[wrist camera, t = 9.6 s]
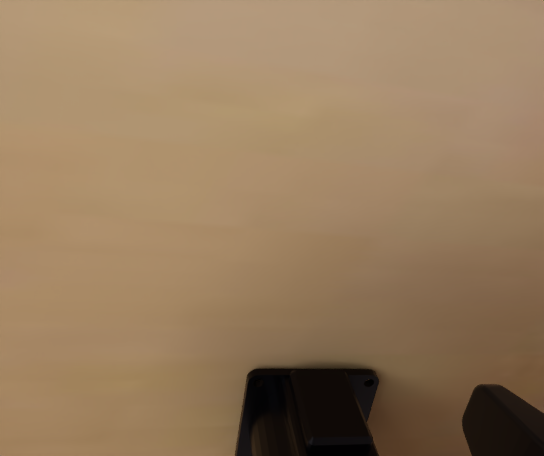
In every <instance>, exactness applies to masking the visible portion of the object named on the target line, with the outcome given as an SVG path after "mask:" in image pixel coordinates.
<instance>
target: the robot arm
mask: <svg viewBox="0 0 544 456" xmlns="http://www.w3.org/2000/svg"><path fill="white" fill-rule="evenodd" d="M256 379H261V380H260V381H255V380H256ZM368 379H370V380H368ZM366 380H368V381H366ZM378 384H379V379H378V377H377V375H376V373H375V372H374V371H373V370H369V369H255V370H252V371H251V372H250V373H249V374H248V375H247V379H246V385H245V392H244V399H243V405H242V412H241V418H240V425H239V432H238V438H237V445H236V451H235V456H379V454H378V452H377V449H376V447H375V444H374V442H373V437H372V435H371V432H370V430H369V427H368V425H367V420H368V417H369V413H370V410H371V407H372V403H373V400H374V397H375V393H376V390H377V387H378ZM462 426H463V431H464V434H465V437H466V440H467V443H468V446H469V448H470V451H471V454H472V456H544V413H542V412H541V411H539V410H538V409H536V408H535V407H533V406H532V405H530V404H529V403H527V402H526V401H524V400H523V399H521V398H520V397H518V396H517V395H515V394H514V393H512V392H511V391H509V390H508V389H506V388H505V387H503V386H501V385H497V384H480V385H478V386H477V387H475V389H474V390H473V393H472V395H471V397H470V400H469V402H468V405H467V407H466V410H465V412H464V414H463V419H462Z"/></svg>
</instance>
